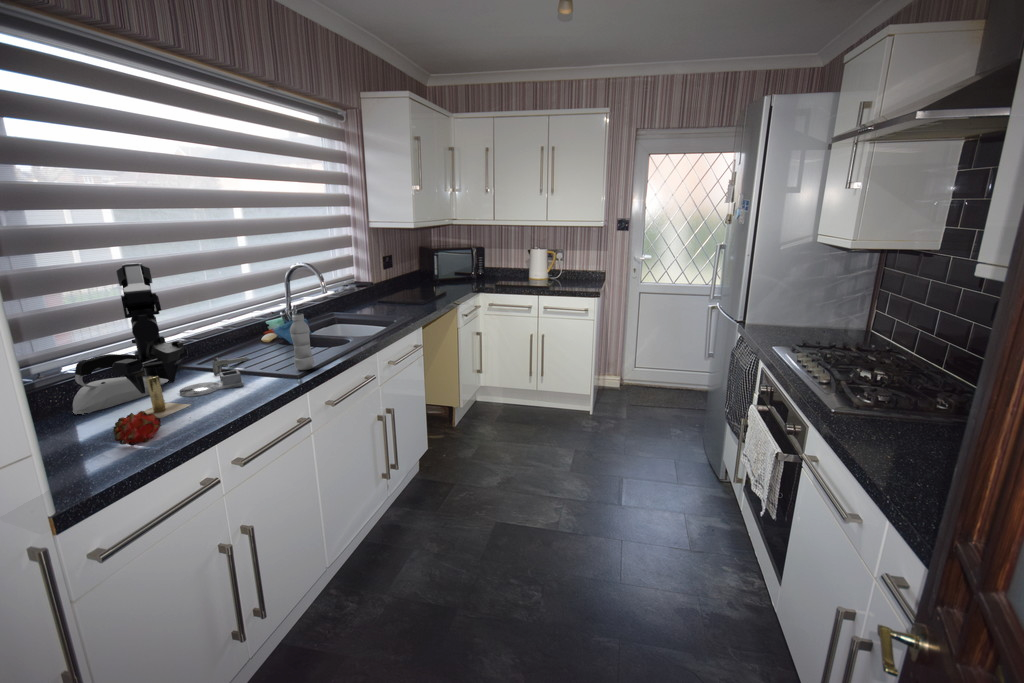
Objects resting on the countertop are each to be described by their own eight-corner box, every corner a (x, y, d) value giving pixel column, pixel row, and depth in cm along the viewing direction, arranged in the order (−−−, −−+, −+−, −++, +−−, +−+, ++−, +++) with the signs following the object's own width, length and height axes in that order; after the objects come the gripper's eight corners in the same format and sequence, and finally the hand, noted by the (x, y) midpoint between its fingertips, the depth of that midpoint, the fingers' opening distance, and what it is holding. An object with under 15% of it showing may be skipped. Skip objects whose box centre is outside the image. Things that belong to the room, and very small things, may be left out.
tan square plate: (133, 417, 146) (133, 415, 146) (165, 404, 155) (164, 402, 155) (161, 419, 143) (161, 417, 143) (191, 406, 153) (191, 404, 152)
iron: (171, 391, 167) (162, 346, 164) (84, 418, 146) (71, 368, 143) (151, 386, 172) (142, 343, 168) (65, 412, 151) (52, 363, 147)
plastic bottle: (309, 372, 182) (301, 316, 176) (291, 372, 183) (283, 316, 178) (318, 367, 188) (311, 312, 183) (301, 366, 189) (294, 312, 184)
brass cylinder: (151, 412, 147) (143, 379, 145) (160, 408, 150) (152, 375, 148) (159, 413, 147) (152, 379, 144) (168, 409, 150) (161, 376, 147)
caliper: (217, 376, 182) (214, 359, 180) (214, 376, 182) (211, 359, 180) (249, 359, 201) (246, 343, 200) (246, 359, 201) (244, 343, 200)
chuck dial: (181, 400, 157) (178, 387, 156) (178, 390, 166) (176, 378, 165) (244, 387, 167) (242, 375, 166) (239, 379, 176) (237, 367, 175)
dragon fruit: (114, 459, 124) (160, 444, 136) (134, 441, 122) (179, 427, 134) (96, 429, 125) (143, 417, 137) (116, 411, 123) (162, 400, 134)
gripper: (138, 344, 133) (150, 401, 136) (198, 327, 150) (207, 378, 154) (104, 342, 135) (118, 398, 139) (167, 326, 153) (177, 376, 157)
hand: (158, 387), depth 147 cm, fingers open, 9 cm apart
